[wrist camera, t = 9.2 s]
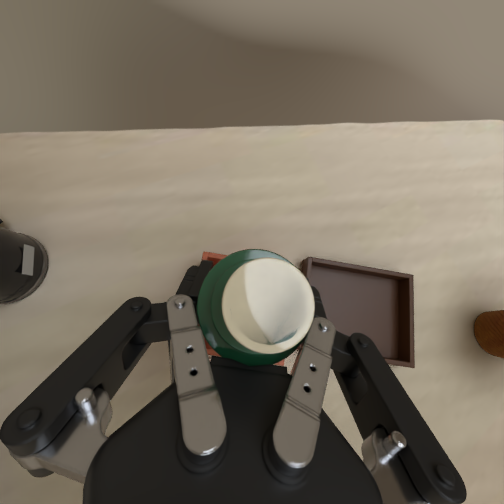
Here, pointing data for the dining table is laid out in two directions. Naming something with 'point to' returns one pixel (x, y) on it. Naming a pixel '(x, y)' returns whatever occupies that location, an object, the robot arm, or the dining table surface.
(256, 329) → the bottle
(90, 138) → the dining table surface
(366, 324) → the tray
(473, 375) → the dining table surface
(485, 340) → the disposable coffee cup
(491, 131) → the dining table surface
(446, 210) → the dining table surface
